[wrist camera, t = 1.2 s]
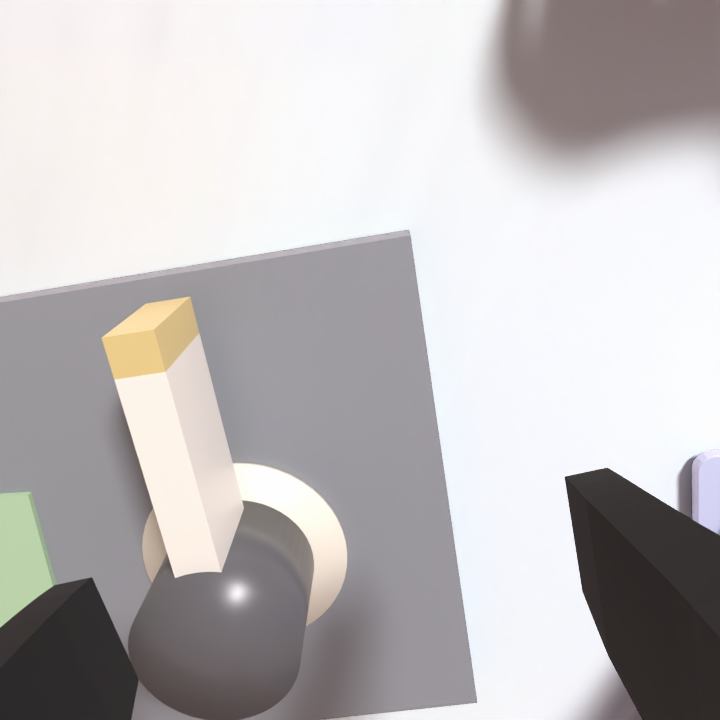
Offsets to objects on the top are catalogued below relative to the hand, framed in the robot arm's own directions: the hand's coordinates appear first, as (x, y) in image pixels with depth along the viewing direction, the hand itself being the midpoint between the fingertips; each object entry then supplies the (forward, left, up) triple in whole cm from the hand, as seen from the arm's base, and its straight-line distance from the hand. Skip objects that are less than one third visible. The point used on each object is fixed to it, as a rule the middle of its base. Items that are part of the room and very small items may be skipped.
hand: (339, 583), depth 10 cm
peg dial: (+5, +2, -9) cm, 10 cm away
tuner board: (+6, +5, -11) cm, 13 cm away
